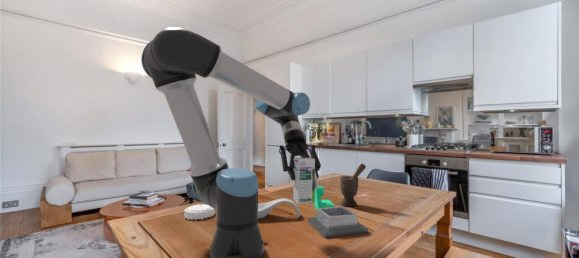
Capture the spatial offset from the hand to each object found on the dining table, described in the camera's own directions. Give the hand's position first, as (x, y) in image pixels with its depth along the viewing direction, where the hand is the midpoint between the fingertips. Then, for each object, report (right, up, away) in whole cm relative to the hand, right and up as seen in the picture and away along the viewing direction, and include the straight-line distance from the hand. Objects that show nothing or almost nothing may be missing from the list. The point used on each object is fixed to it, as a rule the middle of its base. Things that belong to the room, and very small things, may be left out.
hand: (307, 187), depth 81 cm
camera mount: (+10, -18, +34) cm, 40 cm away
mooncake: (-43, -18, +26) cm, 53 cm away
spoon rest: (-13, -18, +24) cm, 33 cm away
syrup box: (-1, -6, +3) cm, 7 cm away
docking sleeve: (+11, -17, +12) cm, 24 cm away
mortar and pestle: (+24, -18, +40) cm, 50 cm away
